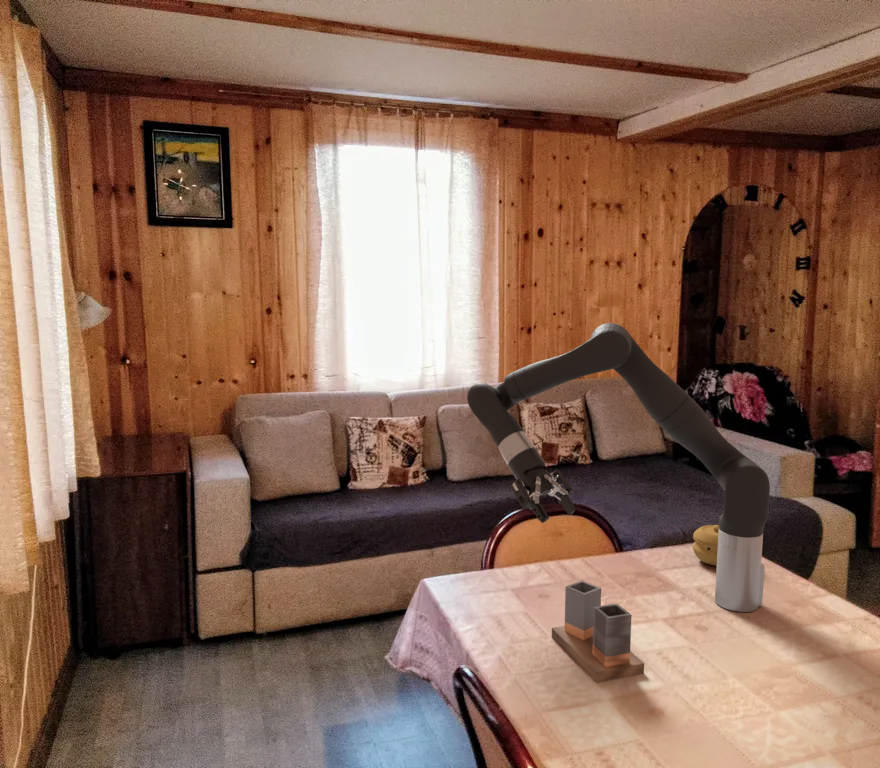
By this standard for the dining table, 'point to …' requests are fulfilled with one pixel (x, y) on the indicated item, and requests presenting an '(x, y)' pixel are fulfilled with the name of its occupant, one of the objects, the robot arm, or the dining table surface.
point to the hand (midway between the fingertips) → (559, 516)
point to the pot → (706, 544)
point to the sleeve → (581, 608)
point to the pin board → (603, 645)
